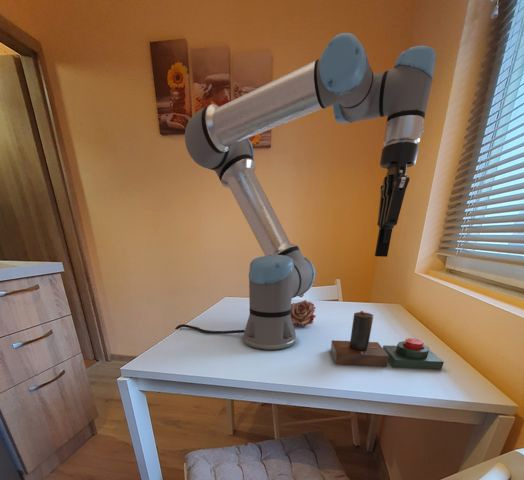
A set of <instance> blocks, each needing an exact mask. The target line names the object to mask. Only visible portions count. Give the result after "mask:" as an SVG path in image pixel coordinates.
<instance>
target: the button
mask: <svg viewBox="0 0 524 480" xmlns="http://www.w3.org/2000/svg"><path fill="white" fill-rule="evenodd" d="M404 341H405V344H404V347H406V348H408V349H413V350H422V348H423V345H425V344H424V343H425V342H424V341H422V340H421V339H418V338H409V337H408V338H406V339H404Z"/></svg>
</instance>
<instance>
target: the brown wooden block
mask: <svg viewBox="0 0 524 480" xmlns="http://www.w3.org/2000/svg"><path fill="white" fill-rule="evenodd" d="M330 352H331V356H332V359H333V361H334V364H335V366H349V367H350V366H351V367H369V368H370V367H371V368H372V367H373V368H374V367H375V368H387V367H388V363H389V362H388V358H389V356H388V354H387V353H386V352H385V351H384V349H383V346H381V344H380V343H379V342H378V341H369V345H368V349H367V350H365V351H358V350H354V349H351V348H350V340H335V339H333V340H331V344H330Z"/></svg>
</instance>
